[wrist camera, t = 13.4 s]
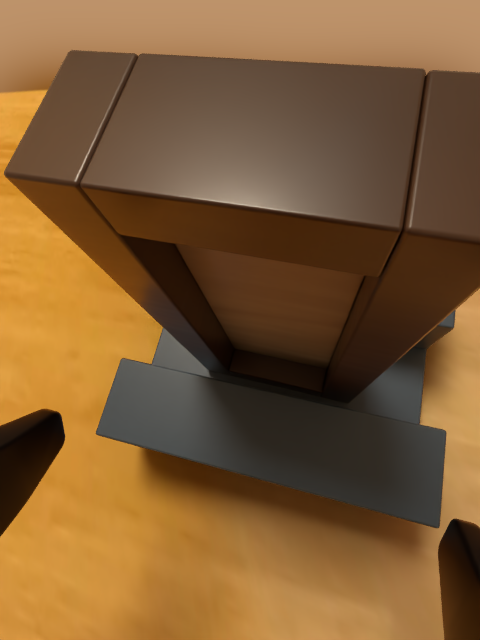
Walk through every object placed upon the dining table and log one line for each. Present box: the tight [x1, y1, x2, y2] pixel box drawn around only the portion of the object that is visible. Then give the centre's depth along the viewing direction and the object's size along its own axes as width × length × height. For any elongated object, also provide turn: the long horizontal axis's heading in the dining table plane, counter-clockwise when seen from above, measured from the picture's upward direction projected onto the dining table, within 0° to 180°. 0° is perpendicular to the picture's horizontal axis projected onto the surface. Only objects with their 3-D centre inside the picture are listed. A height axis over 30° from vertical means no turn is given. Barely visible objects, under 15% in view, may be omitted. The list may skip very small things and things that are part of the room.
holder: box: [96, 310, 455, 528], centre depth 16 cm, size 10×12×4 cm
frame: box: [4, 50, 480, 403], centre depth 11 cm, size 2×6×13 cm, turn 75°
